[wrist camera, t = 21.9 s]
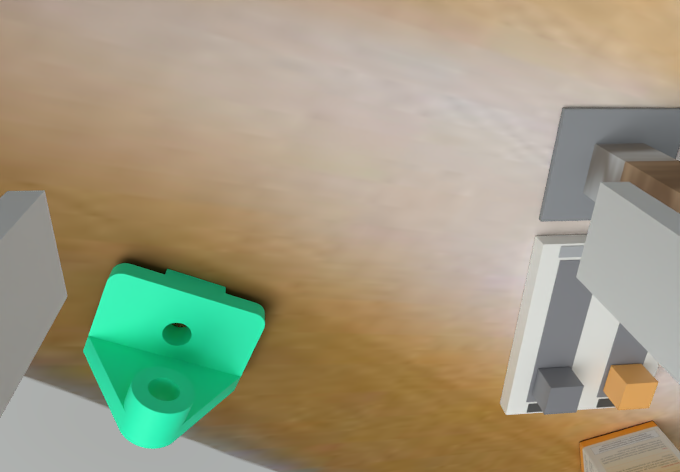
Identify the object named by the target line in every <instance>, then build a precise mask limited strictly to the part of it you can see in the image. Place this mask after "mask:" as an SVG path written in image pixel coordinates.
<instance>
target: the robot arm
mask: <svg viewBox="0 0 680 472" xmlns="http://www.w3.org/2000/svg"><path fill="white" fill-rule="evenodd" d="M576 278H577V279H578V280H579V281H580V282H581V283H582V284H583V285H584V286H585V287H586V288H587V289H588V290H589V291H590V292H591V293H592V294H593V295H594V296H595V297H596V298H597V299H598V300H599V301H600V302H601V304H602V305H603V306H604V307H605V308H606V309H607V310H608V311H609V312H610V313H611V314H612V315H613V316H614V317H615V318H616V319H617V320H618V321H619V322H620V323H621V324H622V325H623V326H624V327H625V328H626V329H627V331H628V332H629V333H630V334H631V335H632V336H633V337H634V338H635V339H636V340H637V341H638V342H639V343H640V344H641V345H642V346H643V347H644V348H645V349H646V350H647V351H648V352H649V353H650V354H651V355H652V356H653V358H654V359H655V360H656V361H657V362H658V363H659V364H660V365H661V366H662V367H663V368H664V369H665V370H666V371H667V372H668V373H669V374H670V375H671V376H672V377H673V378H674V379H675V380H676V381H677V382H678V384H679V385H680V214H679V213H678V212H676V211H674V210H673V209H671V208H670V207H668V206H667V205H665V204H663V203H662V202H660V201H659V200H657V199H655V198H654V197H652V196H651V195H649V194H648V193H646V192H644V191H643V190H641V189H640V188H638V187H636V186H635V185H633V184H632V183H630V182H600V186H599V190H598V194H597V198H596V202H595V206H594V210H593V213H592V217H591V221H590V225H589V229H588V233H587V237H586V241H585V245H584V248H583V252H582V256H581V260H580V264H579V268H578V272H577V276H576ZM66 298H67V292H66V287H65V283H64V278H63V273H62V269H61V264H60V260H59V255H58V250H57V246H56V241H55V236H54V232H53V227H52V223H51V218H50V213H49V209H48V204H47V199H46V195H45V191H7V192H6V193H5V194H4V195H3V196H2V197H1V198H0V418H1V416H2V414H3V412H4V410H5V408H6V406H7V405H8V403H9V401H10V399H11V398H12V396H13V394H14V392H15V390H16V389H17V387H18V385H19V383H20V381H21V380H22V378H23V376H24V374H25V372H26V370H27V369H28V367H29V365H30V363H31V361H32V360H33V358H34V356H35V354H36V352H37V351H38V349H39V347H40V345H41V343H42V342H43V340H44V338H45V336H46V334H47V332H48V331H49V329H50V327H51V325H52V323H53V322H54V320H55V318H56V316H57V314H58V313H59V311H60V309H61V307H62V305H63V304H64V302H65V300H66Z"/></svg>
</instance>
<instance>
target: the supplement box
mask: <svg viewBox="0 0 680 472" xmlns="http://www.w3.org/2000/svg"><path fill="white" fill-rule="evenodd" d="M580 457H581V471H582V472H680V452H679V450H678V449H677V448H676V447H675V446H674V445H673V443H672V442H671V441H670V440H669V439H668V438H667V436H666V435H665V434H664V433H663V432H662V431H661V429H660V428H659V427H658V426H657V425H656V424H655V423H654V421H651V422H648V423H644V424H641V425H638V426H634V427H631V428H628V429H624V430H621V431H618V432H614V433H610V434H607V435H604V436H600V437H597V438H593V439H590V440H586V441H583V442H580Z"/></svg>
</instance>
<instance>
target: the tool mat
mask: <svg viewBox="0 0 680 472" xmlns="http://www.w3.org/2000/svg"><path fill="white" fill-rule="evenodd" d="M621 143H644V144H646V145H648V146H650V147H652V148H654V149H656V150H658V151H660V152H662V153H664V154H666V155H668V156H670V157H672V158H674V159H676V155H677V152H678V149H679V146H680V108H563V109H562V113H561V118H560V123H559V127H558V132H557V137H556V142H555V146H554V151H553V156H552V160H551V165H550V170H549V175H548V179H547V184H546V189H545V193H544V198H543V203H542V208H541V212H540V217H539V220H540V221H578V220H591V217H592V213H593V210H594V206H595V202H594V201H593V200H592V199H590V198H589V197H588V196H586V195H585V194H584V193H583V191H584V187H585V183H586V179H587V174H588V170H589V166H590V162H591V158H592V154H593V150H594V145H595V144H621Z"/></svg>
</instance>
